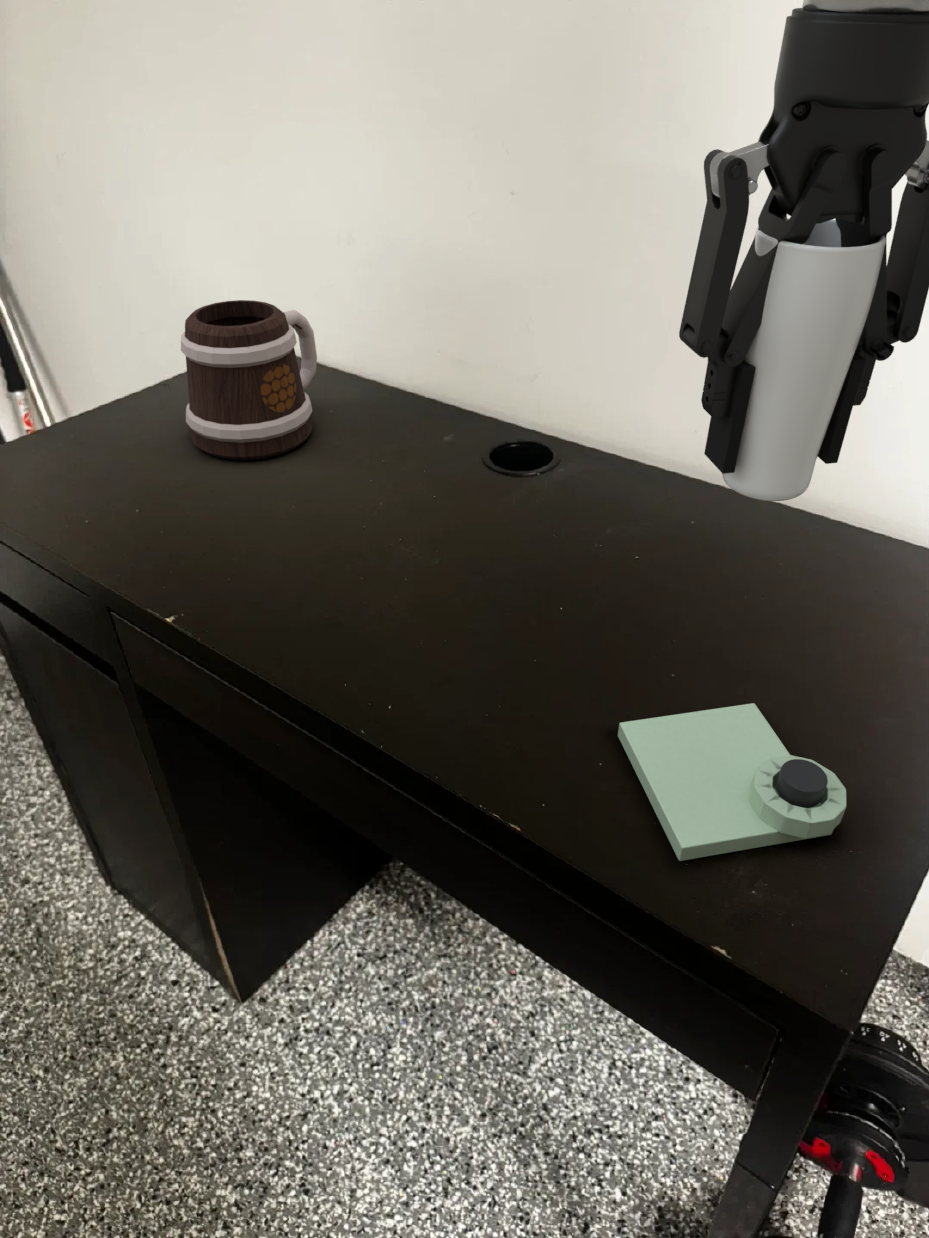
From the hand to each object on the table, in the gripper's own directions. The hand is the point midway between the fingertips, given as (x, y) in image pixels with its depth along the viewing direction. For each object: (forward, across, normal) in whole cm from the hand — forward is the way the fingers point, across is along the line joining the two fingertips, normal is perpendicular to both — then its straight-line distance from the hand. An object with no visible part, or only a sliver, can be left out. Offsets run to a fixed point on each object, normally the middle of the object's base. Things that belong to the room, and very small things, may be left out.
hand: (770, 457), depth 55 cm
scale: (+23, +2, +6) cm, 24 cm away
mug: (+23, +32, -61) cm, 72 cm away
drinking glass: (+2, 0, 0) cm, 2 cm away
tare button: (+20, -2, +9) cm, 22 cm away
